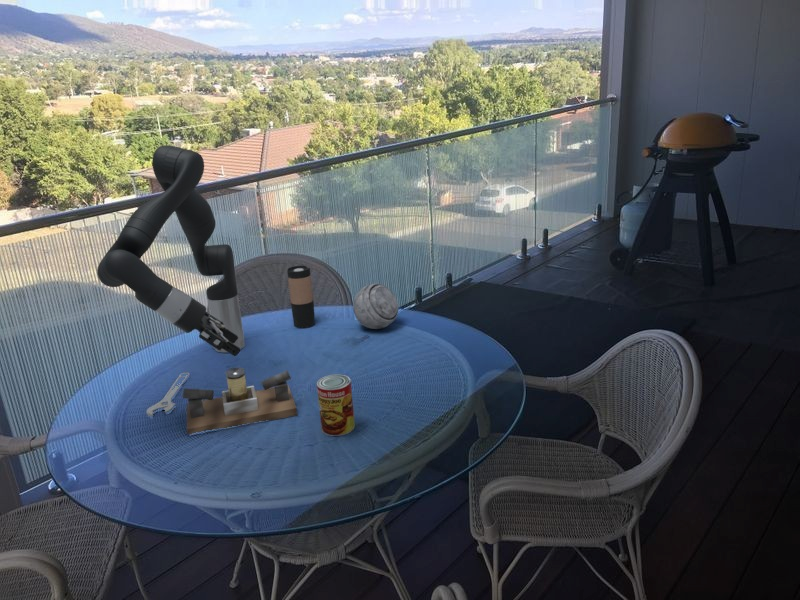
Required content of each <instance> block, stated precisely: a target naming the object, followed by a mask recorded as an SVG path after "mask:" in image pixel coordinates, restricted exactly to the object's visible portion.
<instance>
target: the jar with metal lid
mask: <svg viewBox="0 0 800 600" xmlns="http://www.w3.org/2000/svg"><path fill="white" fill-rule="evenodd" d="M225 378H226V381H227V388H228V389H227V390H229V396H230V402H235V401H240V400H245V399H248V393H247V387H248V386H247V380H246V372H245V368H244V367H239V366H238V367H231V368H229V369H227V370H226V371H225Z"/></svg>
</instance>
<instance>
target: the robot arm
mask: <svg viewBox="0 0 800 600" xmlns="http://www.w3.org/2000/svg"><path fill="white" fill-rule="evenodd" d="M151 161H152V163H151V164H152V170H153V174H154V176H155V178H156V180H157V182H158V183H159V185H160V187H161V188H162V189H163V192H162V193H161V194H159V195H157V196H156V197H153V198H151V199H150V200H149V201H146V202H145V203H143V204H142V205H140V206H138V208H137V209H136V210H134V211H133V213H132V214H131V216H130V217H129V218H128V220H127V222H126V223H125V225H124V227H123V228H122V229H121V231H120V233H119V234H118V235H119V236H118V237H117V239H116V240H115V242H113V244H112V245H111V247H110V248H109V249H108V251H107V252H106V253H105V255H104V256H103V257H102V258H101V260H100V262H99V264H98V266H97V269H96V271H97V272H96V274H97V278H98V279H99V282H101V283H102V285H105V286H106V287H109V288H118V287H122V286H123V285H126V287H128V288H129V289H131V290H132V291H133V292H134V296H135V298H136V300H138V301H139V302H140V303H141V304H142V305H144V306H145V307H148V308H149V309H151V310H152V311H154V312H155V313H157V314H158V315H159V316H160V317H161V318H162V319H164V320H165V321H167V322H169V323H170V324H172V325H174V326H175V327H177V328H178V329H180V330H182V331H184V332H185V333H187V334H189V333H191V332H193V330H197V332H199V335H198V337H199V339H201V340H203V342H205V343H207V344H209V345H210V346H211V347H212V349H213V350H215V351H216V352H218V353H222V354H223V353H228V354H231V355H232V356H233V357H237V356H238V354H239V353H240V352H241V350H242V349H244V347H245V346H246V343H245V342H246V341H245V335H244V329H243V322H242V321H243V320H242V313H241V307H240V302H239V301H240V300H239V293H238V288H237V279H236V270H235V269H236V268H235V259H234V258H235V257H234V252H233V249H232V247H231V246H230V245H229V244H225V243H221V244H211V245H206V244H207V242H208V241H209V240H210V238H211V237H212V235H213V234H214V232H215V230H216V229H215V228H216V225H217V224H216V219H215V216H214V213H213V210H212V207H211V205H210V204H209V202H208V201H207V200H206V199H205V197H204V196H203V195H202V194H200V193H199V192H198V191H197V190H196V189H195V188H196V187H197V186H198V184H199V183H200V182H201V180H202V177H203V175H204V172H205V161H204V159H203V156H202V155H201V154H200V153H199V152H198V151H197V152H196V151H195V150H194V151H193V150H190V149H186V148H183V147H179V146H174V145H169V144H167V145H166V144H164V145H161V146H159V147H157V148H156V149H155V150H154V152H153V156H152V160H151ZM174 213H175V215H176V218H177V220H178V223H179V225H180V226H181V229H182V231H183V233H184V235H185V237H186V239H187V241H188V244H189V247H190V249H191V253H192V255H193V259H194V262H195V265H196V268H197V271H198V272H199V274H200V275H202V276H204V277H214V276H216V277H217V276H223V278H222V279H221V280H220V281H218V282H217V283H215V284H212V285H210V286H208V287H207V288H206V293H205V294H206V299H207V306H208V310H209V312H207V307H206V306H205V305H204V304H202V302H199V301H198V300H197V299H195V298H193V297H192V296H190V295H189V294H187V293H186V292H184V291H183V290H181V289H179V288H177V287H175V286H173V285H172V284H170V283H169V282H168V281H166V280H164V279H163V278H161V277H159V276H158V275H157V274H156V273H155V272H154V271H153V270H152V269H151V268H150V267H149V266H148V265H147V264H146V263H145V262H144V260H142V259H141V258H142V256H143V255H144V254H146V253H147V251H148V250H149V249H150V247H151V246H152V244H153V243H154V241H155V240H156V238H157V236H158V234H159V232H161V230H162V228H163V226H164V225H165V224H166V222H167V221H168V220H169V219H170V217H171V216H172V215H173V214H174Z"/></svg>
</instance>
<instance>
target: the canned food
mask: <svg viewBox="0 0 800 600" xmlns="http://www.w3.org/2000/svg"><path fill="white" fill-rule="evenodd" d="M316 390H317V391H316V392H317V400H318V410H319V417H320V426H321V432H322V433H323V434H325V435H326V436H331V437H338V436H344V435H347V434H349V433H351V432H352V431H354V429H355V423H356V422H355V414H354V402H353V392H352V380H351V378H350V377H349V376H348V375H344V374H330V375H329V374H327V375H326V376H323V377H321V378H319V379H318V380H317V382H316Z"/></svg>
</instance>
